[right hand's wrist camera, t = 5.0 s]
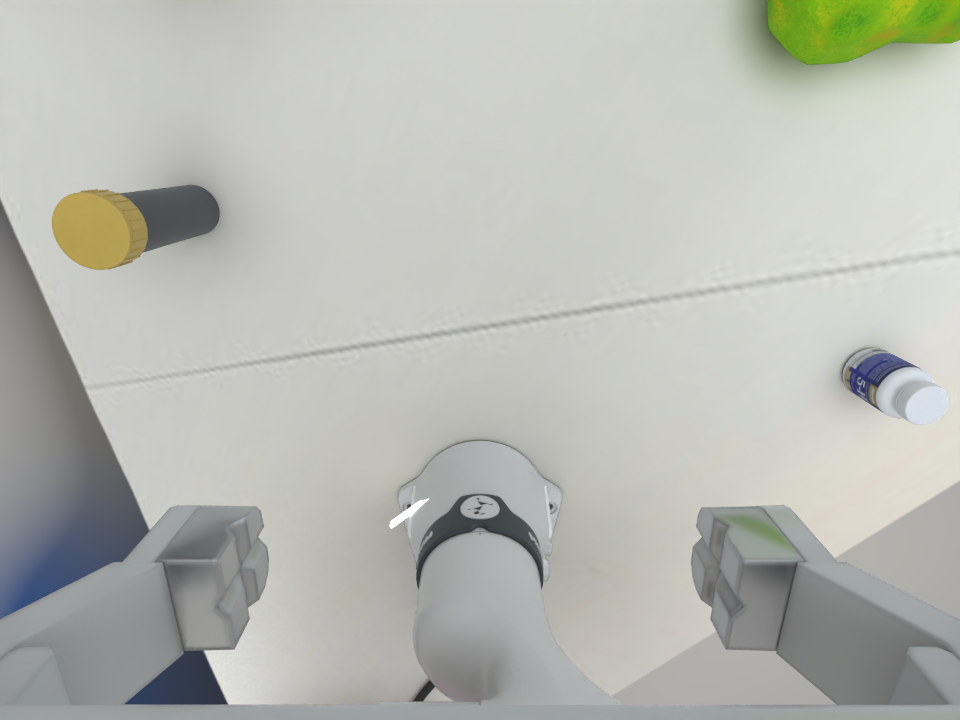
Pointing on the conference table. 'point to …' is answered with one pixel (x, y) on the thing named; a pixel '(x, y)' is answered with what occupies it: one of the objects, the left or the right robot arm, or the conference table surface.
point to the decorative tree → (859, 26)
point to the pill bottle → (895, 386)
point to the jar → (175, 213)
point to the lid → (99, 229)
